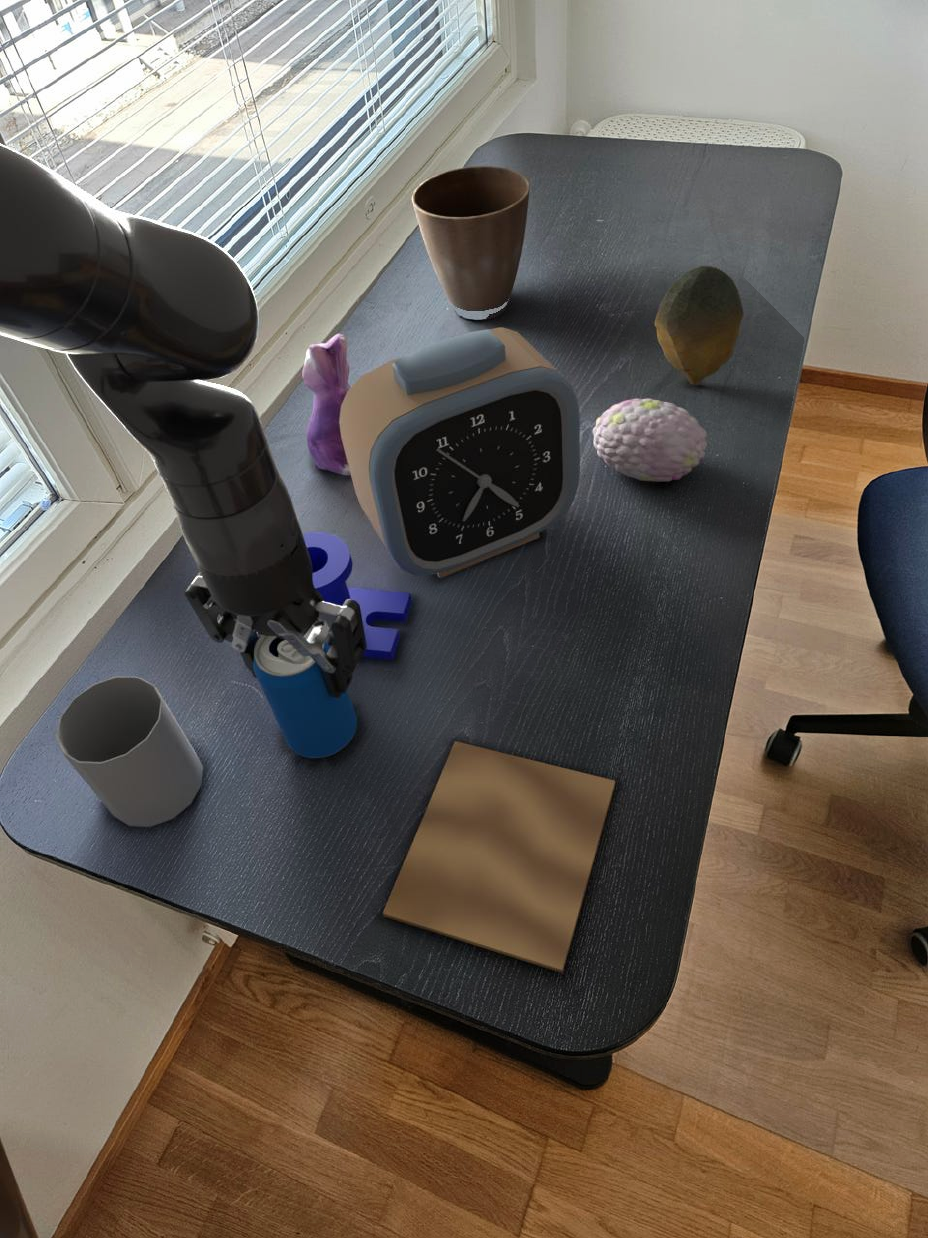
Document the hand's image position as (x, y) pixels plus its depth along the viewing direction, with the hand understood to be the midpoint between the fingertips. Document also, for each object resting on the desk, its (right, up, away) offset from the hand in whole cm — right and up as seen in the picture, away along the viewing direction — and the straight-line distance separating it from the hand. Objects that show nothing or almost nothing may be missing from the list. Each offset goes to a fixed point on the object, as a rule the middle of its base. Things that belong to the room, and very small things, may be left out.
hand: (302, 679), depth 73 cm
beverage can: (+1, -5, +6) cm, 8 cm away
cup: (-13, -9, +4) cm, 17 cm away
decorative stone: (+41, +33, +34) cm, 63 cm away
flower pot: (+16, +49, +51) cm, 72 cm away
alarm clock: (+15, +14, +20) cm, 29 cm away
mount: (0, +5, +14) cm, 15 cm away
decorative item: (+34, +22, +25) cm, 47 cm away
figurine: (-1, +25, +32) cm, 41 cm away
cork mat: (+17, -13, -3) cm, 21 cm away
